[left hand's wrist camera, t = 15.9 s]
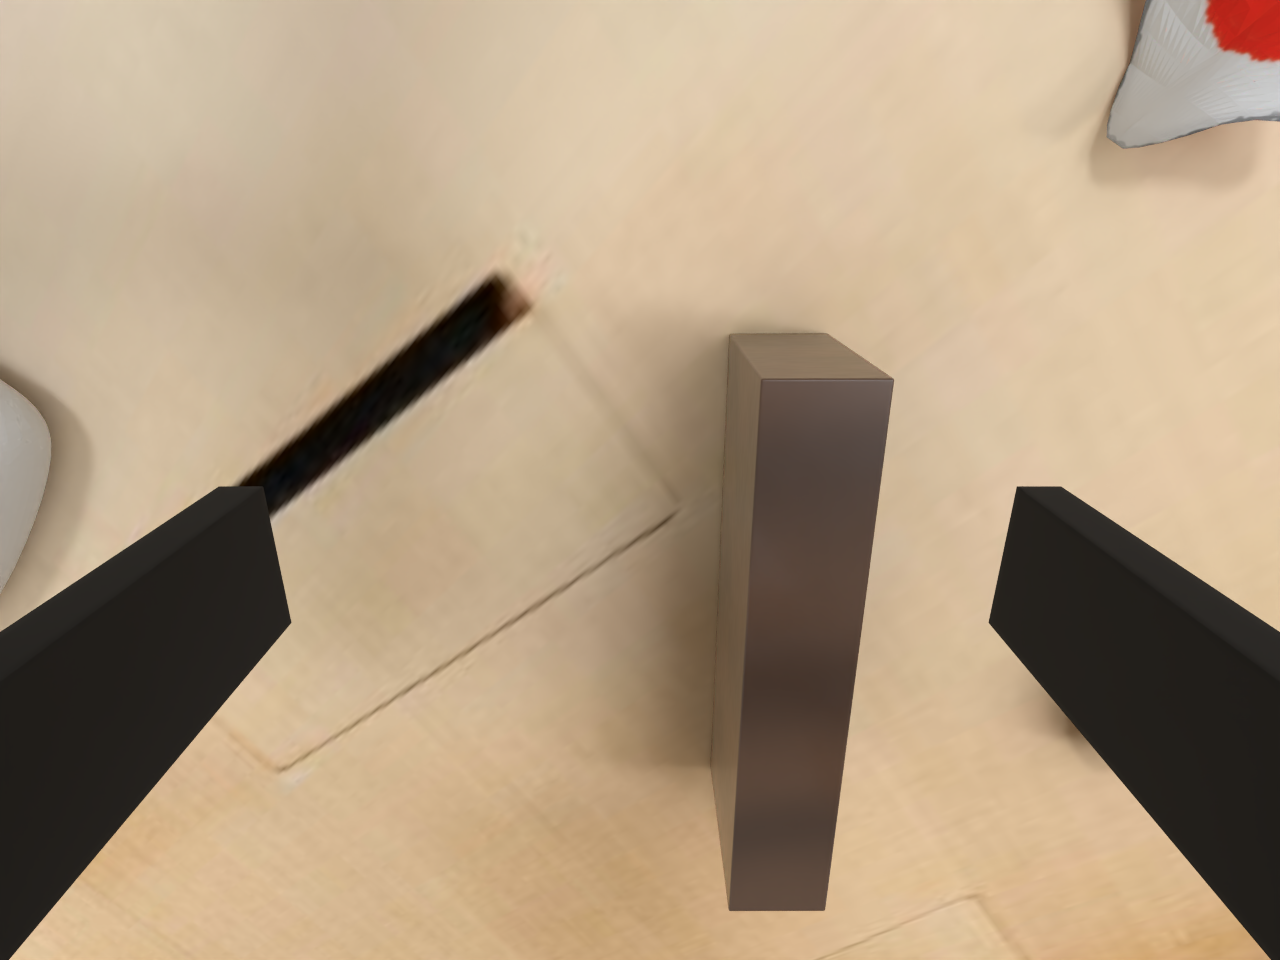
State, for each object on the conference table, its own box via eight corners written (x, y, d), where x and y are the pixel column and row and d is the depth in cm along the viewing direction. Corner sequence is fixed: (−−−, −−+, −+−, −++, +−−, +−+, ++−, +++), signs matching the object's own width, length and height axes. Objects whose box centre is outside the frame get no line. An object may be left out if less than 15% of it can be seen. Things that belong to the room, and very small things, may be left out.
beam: (729, 333, 36) (760, 378, 26) (828, 333, 36) (894, 378, 26) (710, 767, 46) (728, 911, 36) (787, 767, 46) (825, 911, 36)
